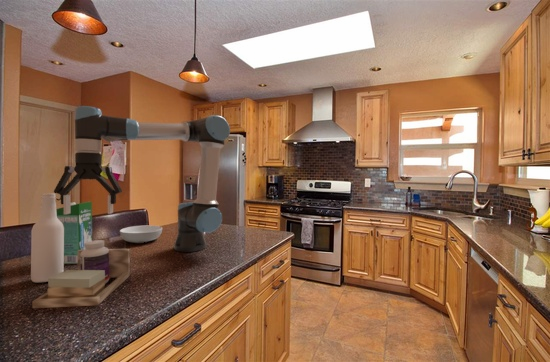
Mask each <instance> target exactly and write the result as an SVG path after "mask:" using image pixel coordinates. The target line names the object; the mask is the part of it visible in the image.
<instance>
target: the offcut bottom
mask: <svg viewBox="0 0 550 362" xmlns="http://www.w3.org/2000/svg"><path fill="white" fill-rule="evenodd" d="M105 286H106V284H105V285H104V286H103V287H102V288H100V289H99V290H98V291H97V292H96V293H95V294H94V295H79V296H60V297H48V299H52V298H75V297H96V296H97V295H98V294H99V293H100V292H102V291H103V290H104V289H105V288H106V287H105Z"/></svg>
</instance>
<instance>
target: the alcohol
mask: <svg viewBox="0 0 550 362" xmlns="http://www.w3.org/2000/svg"><path fill="white" fill-rule="evenodd" d="M56 194H57V193H54V192H53V193H52V192H51V193H41V194H40V196H41V203H40V210H39V218H38V220H37V221H36V222H35V223H34V224H33V226H32V228H31V232H30V233H31V234H30V235H31V243H30V244H31V247H30V249H31V250H30V280H31V281H32V282H33V283H38V284H39V283H46V282H48V278H51V277H53V276H55V275H57V274H59V273H61V272H63V271H65V270H64V266H65V264H64V226H63V224H62V222H61V221H59V220H58V218H57V212H56V209H57V204H56V201H57V200H56V197H57V196H56Z"/></svg>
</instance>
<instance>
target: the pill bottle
mask: <svg viewBox="0 0 550 362" xmlns="http://www.w3.org/2000/svg"><path fill="white" fill-rule="evenodd" d="M85 248H86V249H85V250H83V251H82V252H81V254H80V261H81V270H105V285H106V284H107V283H108V282H109V281H110V278H109V250H108V249H109V248H108V247H107V246H105V240H103V239H95V240H92V241H89V242H86V243H85Z"/></svg>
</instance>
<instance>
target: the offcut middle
mask: <svg viewBox="0 0 550 362" xmlns="http://www.w3.org/2000/svg"><path fill="white" fill-rule="evenodd" d="M104 285H105V286H106V284H105V278H104V279H103V280H101V281H99V282H98V283H96V284H94V285H93V286H91V287H90V288H84V287H48V288H47V292H48V297H60V296H79V295H94V294H95V293H96V292H97V291H98V290H99V289H100V288H102V287H103V286H104Z"/></svg>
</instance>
